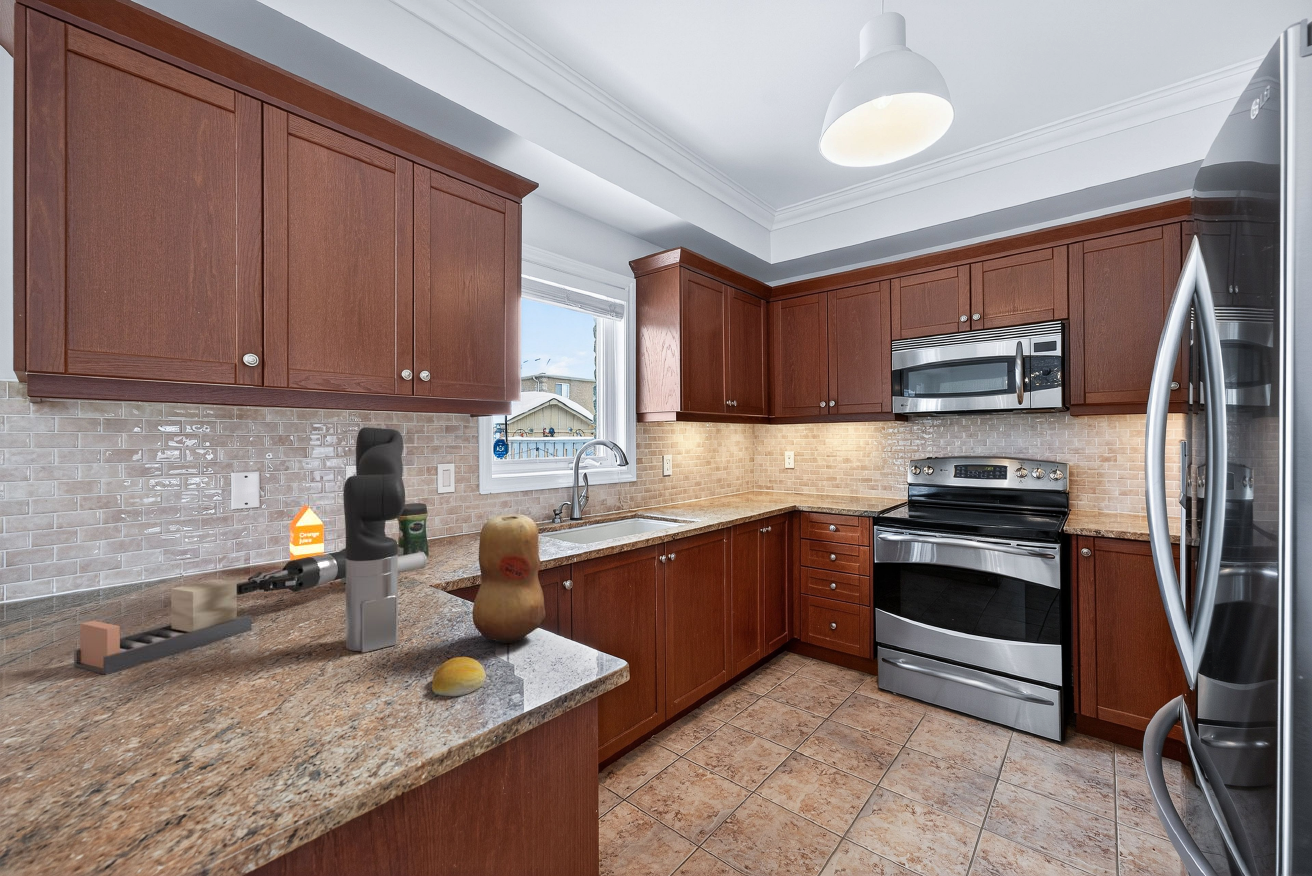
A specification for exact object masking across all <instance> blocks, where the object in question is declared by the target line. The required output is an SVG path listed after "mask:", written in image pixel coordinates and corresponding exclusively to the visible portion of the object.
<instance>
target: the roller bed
mask: <svg viewBox="0 0 1312 876" xmlns="http://www.w3.org/2000/svg"><path fill="white" fill-rule="evenodd" d="M252 630H253V629H252V615H251V614H249V615H245V616H241V617H237V619H234V620H230V621H227V622H223V623H220V624H216V625H213V626H210V627H206V628H203V629H199V630H196V631H192V632H188V631H182V630H177V629H172V628H171V623H170V624H166V625H162V626H158V627H155V628H151V629H146V630H143V631H139V632H137V633H133V634H128V635H124V636H120V652H119V653H115V654H112V655H108V656H105V657H103V668H99V667H95V666H92V665H88V664H84V663H81V647H80V648H76V649H74V650H73V667H75V668H77V669H78V668H79V669H81V668H82V670H85V671H89V672H93V673H96V674H100V673H101V675H104V674H108V675H110V673H111V674H113V672H114V673H117V672H120V671H124V670H126V668H127V669H130V668H132V667H136V665H137V666H139V664H140V665H142V663H143V664H146V663H149V662H152V661H155V660H159V659H162V658H165V657H169V656H171V655H174V654H175V655H176V654H177V653H181V652H185V651H187V650H191V649H195V648H197V647H201V646H204V645H207V644H209V643H213V642H217V641H220V640H224V639H225V638H229V637H232V636H235V635H239V634H242V633H245V632H248V631H252ZM123 669H124V670H123Z"/></svg>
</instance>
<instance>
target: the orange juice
mask: <svg viewBox="0 0 1312 876" xmlns="http://www.w3.org/2000/svg"><path fill="white" fill-rule="evenodd" d="M324 545H325V543H324V523H323V522H322V520H321V519H320V518H319V517H318V516H317V515H316V513H315V512H314V511H313V510H312V509H311V507H309V506H307V505H306V504H304V505H303V506H302V508H301V509H300V510H299V511H298V513H297V514H296V515H295V517H294V518H293V519H292V520H291V522H290V523H289V561H291V560H295V559H300V558H305V557H310V556H314V555H322V554H324V551H325V550H324V548H325V547H324Z"/></svg>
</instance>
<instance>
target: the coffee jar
mask: <svg viewBox="0 0 1312 876" xmlns="http://www.w3.org/2000/svg"><path fill="white" fill-rule="evenodd" d="M428 515H429V513H428V508H427V504H426V503H422V502H412V503H405V506H404V510H403V512H402V514H401V515H400V516H399V517H398V518H396V519H397V522H398V538H397V539H398V540H397V544H398V556H403V555H408V554H413V553H418V552H419V551H420V552H424V554H425V555H426V556H427V557H428V556H429V555H430V554H429V553H430V552H429V543H428V536H427V535H428V534H427V519H428Z"/></svg>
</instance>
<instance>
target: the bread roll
mask: <svg viewBox="0 0 1312 876" xmlns="http://www.w3.org/2000/svg"><path fill="white" fill-rule="evenodd" d="M486 678H487V674H486V671H485V669H484V667H483V665H482V664H481V663H480V662H479V661H478V660H477V659H474V658H472V657H468V656H458V657H452V658H450V659H448V660H446V661H444V663H441V665H439V666H438V667H437V668H436V670H435V671H434V673H433V676H432V685H431V689H432V692H433V693H434V694H436V695H438V696H442V697H460V696H465V695H467V694H470V693H472V692H474V691H477V690H479V689H480V688H481V687H482V686H483V685H484V684H485V683H486Z"/></svg>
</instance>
